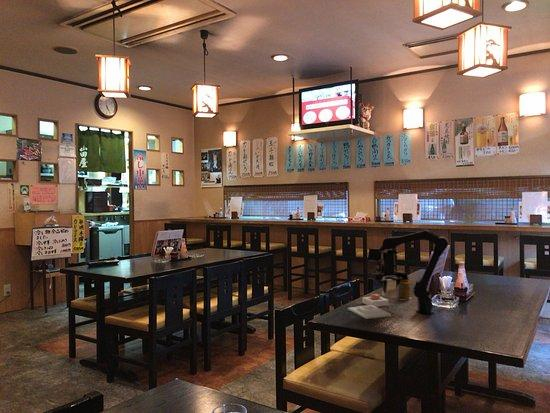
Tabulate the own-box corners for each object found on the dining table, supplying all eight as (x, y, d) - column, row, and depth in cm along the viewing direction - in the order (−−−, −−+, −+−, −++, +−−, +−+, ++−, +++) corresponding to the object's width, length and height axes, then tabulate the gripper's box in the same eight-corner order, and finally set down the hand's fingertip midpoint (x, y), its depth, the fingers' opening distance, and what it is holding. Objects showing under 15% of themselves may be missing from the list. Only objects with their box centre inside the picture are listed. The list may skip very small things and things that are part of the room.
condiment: (412, 298, 246) (412, 277, 245) (402, 300, 241) (402, 279, 241) (402, 296, 252) (402, 275, 251) (392, 298, 247) (392, 277, 247)
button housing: (388, 305, 230) (388, 299, 230) (371, 307, 227) (371, 301, 226) (378, 301, 239) (378, 295, 239) (362, 302, 236) (362, 297, 236)
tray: (391, 316, 209) (391, 310, 209) (365, 318, 205) (365, 313, 205) (371, 307, 227) (371, 302, 226) (347, 309, 222) (347, 304, 222)
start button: (381, 301, 231) (381, 295, 231) (373, 302, 230) (373, 296, 230) (376, 299, 236) (376, 293, 236) (369, 300, 234) (369, 294, 234)
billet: (396, 296, 220) (396, 281, 220) (387, 297, 219) (387, 281, 218) (390, 294, 225) (390, 279, 225) (382, 295, 223) (382, 279, 223)
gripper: (395, 258, 232) (395, 287, 232) (364, 260, 226) (364, 290, 226) (408, 261, 221) (408, 292, 222) (376, 263, 215) (376, 295, 216)
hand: (389, 292), depth 222 cm, fingers closed on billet, 5 cm apart
